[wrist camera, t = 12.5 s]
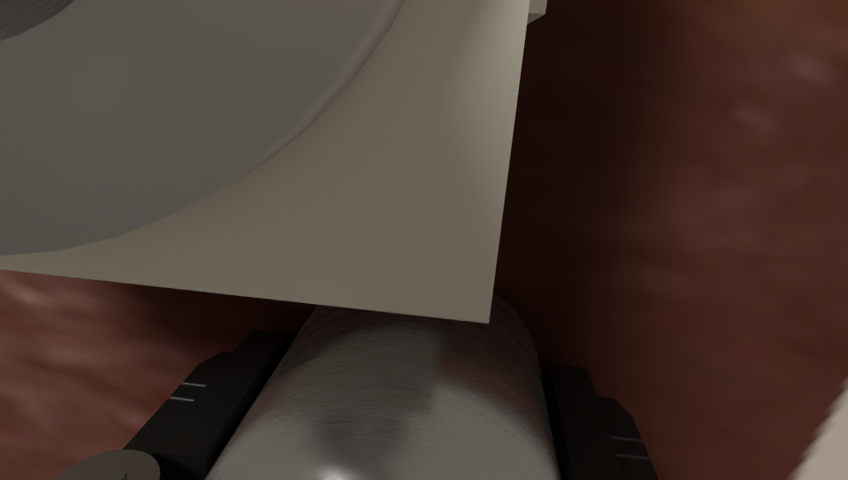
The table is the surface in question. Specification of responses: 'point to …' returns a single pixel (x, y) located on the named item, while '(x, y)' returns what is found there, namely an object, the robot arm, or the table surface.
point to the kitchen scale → (266, 148)
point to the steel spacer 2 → (399, 403)
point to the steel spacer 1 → (27, 14)
